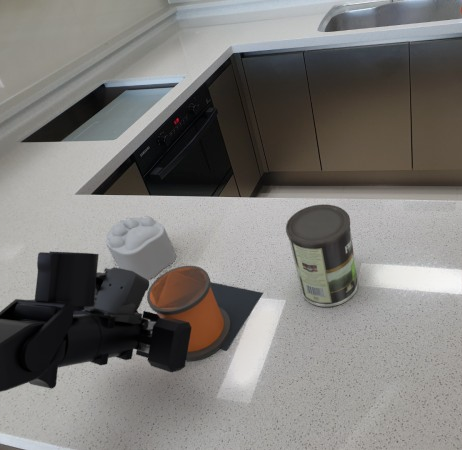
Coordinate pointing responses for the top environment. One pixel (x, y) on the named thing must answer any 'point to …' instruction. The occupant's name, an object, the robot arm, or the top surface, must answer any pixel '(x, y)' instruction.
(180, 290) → the spool
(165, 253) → the lumpy-topped squat cylinder
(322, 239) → the coffee can
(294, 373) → the top surface
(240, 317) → the mat
